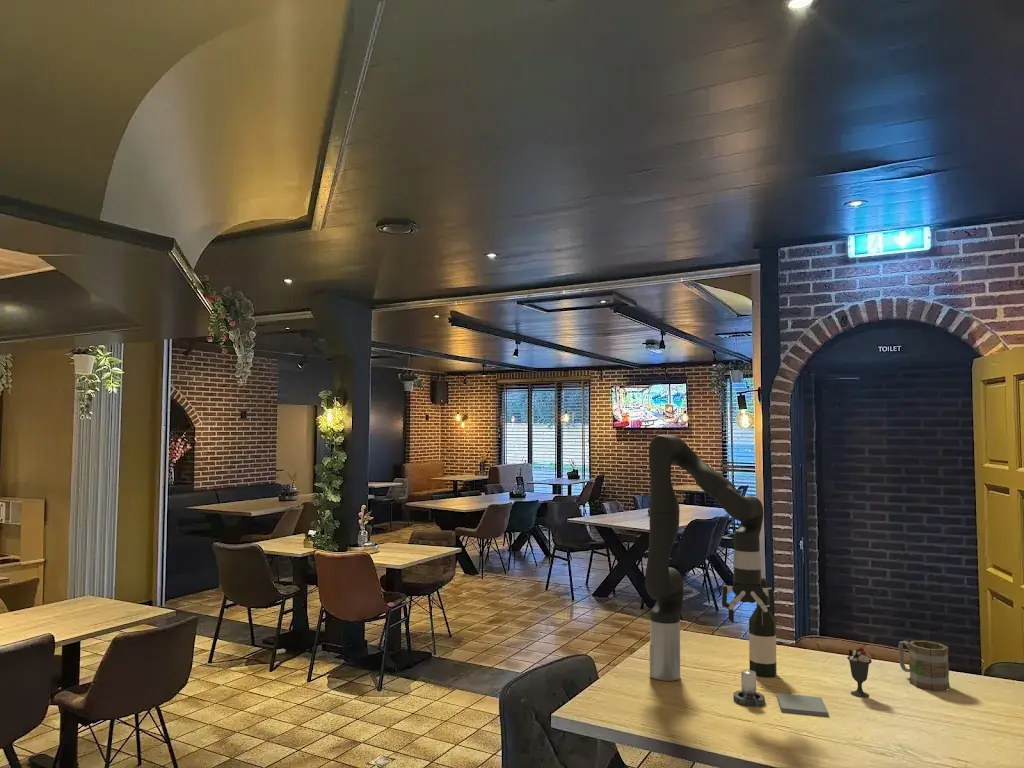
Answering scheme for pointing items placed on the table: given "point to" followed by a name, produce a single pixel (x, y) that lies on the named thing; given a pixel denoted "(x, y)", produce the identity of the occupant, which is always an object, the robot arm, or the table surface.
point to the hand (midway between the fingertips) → (748, 623)
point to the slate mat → (802, 704)
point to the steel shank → (748, 684)
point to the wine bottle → (762, 640)
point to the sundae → (859, 669)
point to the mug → (926, 664)
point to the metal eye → (749, 702)
